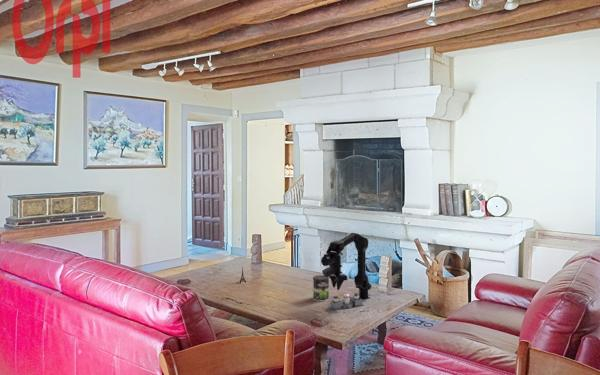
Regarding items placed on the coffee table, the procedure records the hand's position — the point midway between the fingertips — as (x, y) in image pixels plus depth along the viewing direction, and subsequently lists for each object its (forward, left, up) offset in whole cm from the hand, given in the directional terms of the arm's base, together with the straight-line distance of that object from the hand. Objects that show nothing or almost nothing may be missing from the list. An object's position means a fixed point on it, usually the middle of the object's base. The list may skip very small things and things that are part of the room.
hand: (336, 288), depth 275 cm
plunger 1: (0, 0, -9) cm, 9 cm away
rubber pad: (+6, -6, -12) cm, 14 cm away
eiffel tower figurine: (-77, -38, -13) cm, 87 cm away
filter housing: (0, +7, -12) cm, 14 cm away
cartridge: (0, +7, -12) cm, 14 cm away
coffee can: (-20, -1, -12) cm, 24 cm away
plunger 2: (0, +14, -9) cm, 17 cm away
